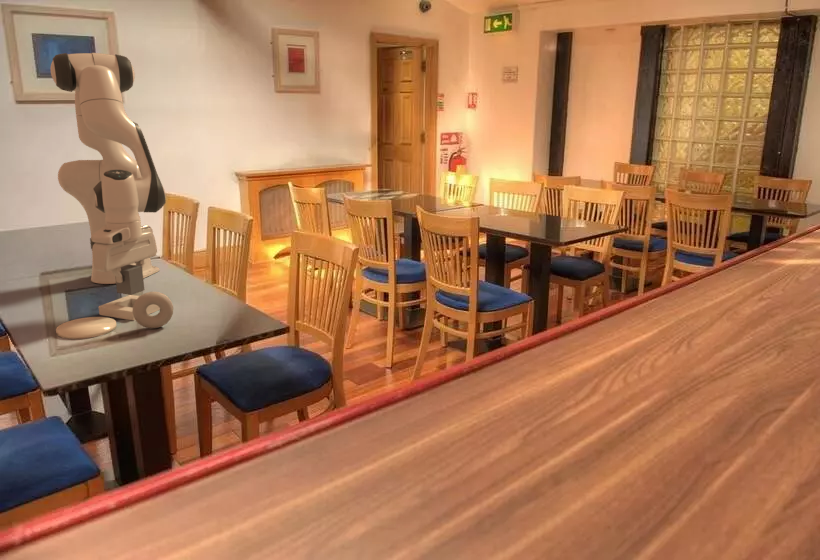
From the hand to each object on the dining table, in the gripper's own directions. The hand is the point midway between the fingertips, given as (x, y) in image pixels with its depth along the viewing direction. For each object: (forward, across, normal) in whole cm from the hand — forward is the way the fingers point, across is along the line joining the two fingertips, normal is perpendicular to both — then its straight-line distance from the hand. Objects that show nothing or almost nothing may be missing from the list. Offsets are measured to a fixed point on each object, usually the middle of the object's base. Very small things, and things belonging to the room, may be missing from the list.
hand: (129, 279), depth 178 cm
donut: (+9, +9, +16) cm, 20 cm away
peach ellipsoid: (+9, +17, 0) cm, 19 cm away
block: (+4, 0, 0) cm, 4 cm away
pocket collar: (+9, +1, 0) cm, 9 cm away
